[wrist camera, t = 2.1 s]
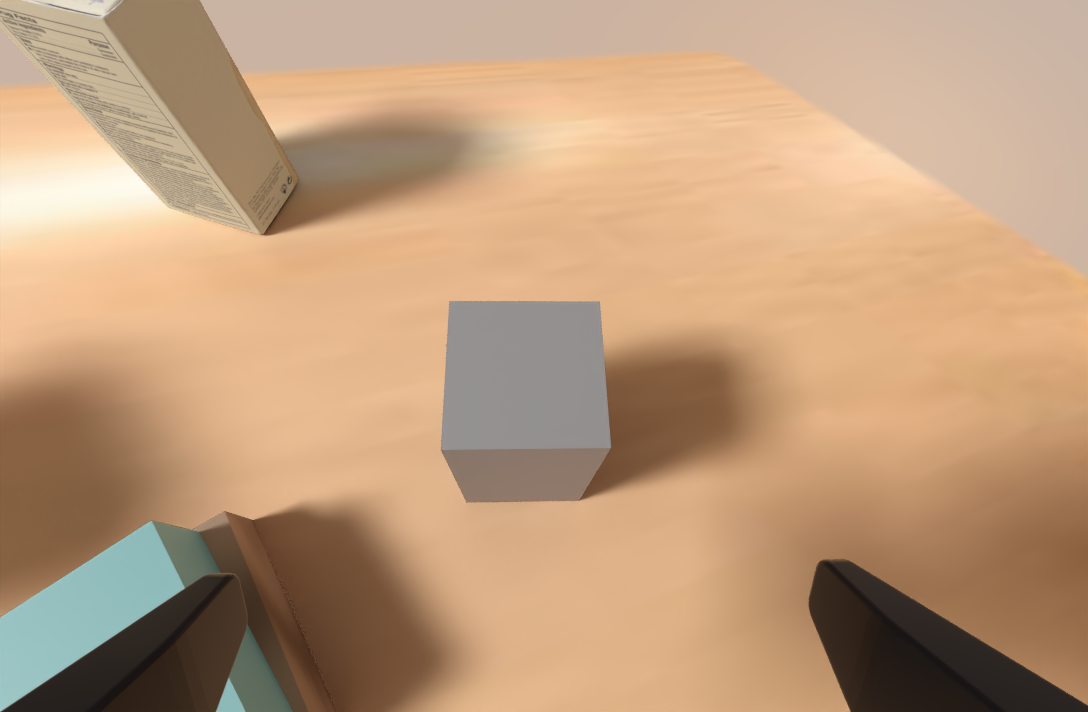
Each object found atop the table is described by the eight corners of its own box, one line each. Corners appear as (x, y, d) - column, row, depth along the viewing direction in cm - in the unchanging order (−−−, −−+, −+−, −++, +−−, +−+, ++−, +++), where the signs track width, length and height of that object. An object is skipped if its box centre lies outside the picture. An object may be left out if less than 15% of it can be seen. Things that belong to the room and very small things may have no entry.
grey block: (579, 500, 24) (611, 447, 16) (466, 502, 24) (441, 449, 16) (573, 395, 26) (599, 301, 18) (470, 396, 26) (449, 301, 18)
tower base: (347, 724, 21) (321, 743, 18) (101, 901, 18) (28, 953, 16) (258, 521, 24) (224, 511, 21) (36, 651, 21) (-35, 658, 19)
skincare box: (302, 181, 31) (183, -54, 20) (262, 241, 29) (106, 19, 18) (204, 152, 31) (35, -92, 20) (158, 209, 30) (-55, -25, 19)
